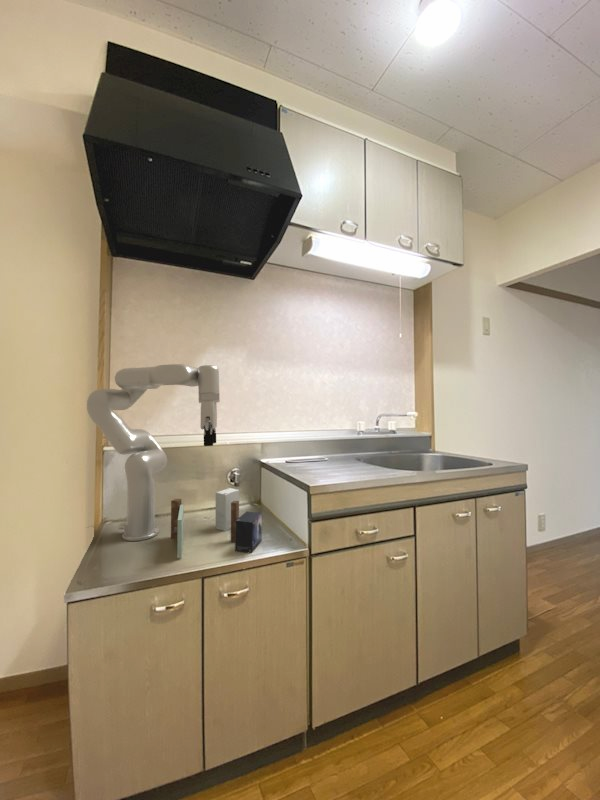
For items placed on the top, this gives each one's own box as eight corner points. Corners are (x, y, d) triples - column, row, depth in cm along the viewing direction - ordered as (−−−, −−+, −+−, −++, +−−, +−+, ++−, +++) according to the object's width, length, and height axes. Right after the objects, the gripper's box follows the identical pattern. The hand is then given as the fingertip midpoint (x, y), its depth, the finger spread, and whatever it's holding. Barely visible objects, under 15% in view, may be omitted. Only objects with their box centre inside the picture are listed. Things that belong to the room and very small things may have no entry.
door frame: (170, 539, 121) (171, 500, 121) (174, 536, 124) (175, 498, 124) (236, 542, 118) (236, 503, 118) (238, 539, 121) (238, 500, 121)
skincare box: (229, 522, 138) (229, 487, 139) (240, 525, 135) (240, 489, 136) (214, 528, 131) (214, 491, 132) (225, 531, 128) (225, 493, 129)
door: (176, 536, 122) (176, 504, 122) (183, 535, 123) (183, 503, 123) (172, 558, 104) (172, 520, 104) (181, 557, 105) (181, 519, 105)
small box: (252, 553, 109) (252, 521, 109) (234, 552, 110) (234, 520, 110) (262, 541, 119) (262, 512, 119) (245, 539, 120) (245, 510, 121)
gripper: (202, 399, 130) (203, 443, 130) (194, 397, 113) (195, 447, 113) (221, 399, 132) (222, 442, 131) (216, 397, 114) (218, 446, 114)
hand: (210, 444), depth 122 cm, fingers open, 9 cm apart
